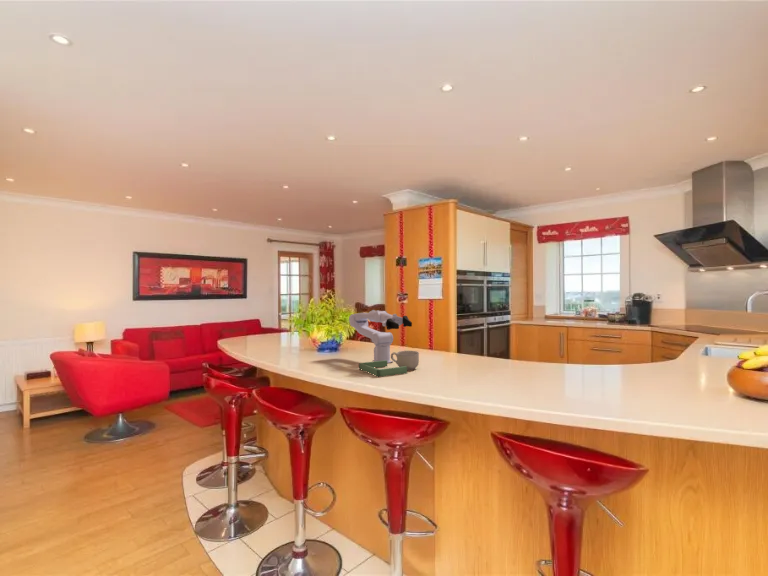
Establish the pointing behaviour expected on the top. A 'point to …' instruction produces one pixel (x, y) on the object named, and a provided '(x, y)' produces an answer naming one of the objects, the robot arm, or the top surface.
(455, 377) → the top surface
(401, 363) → the teacup
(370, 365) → the green bay
